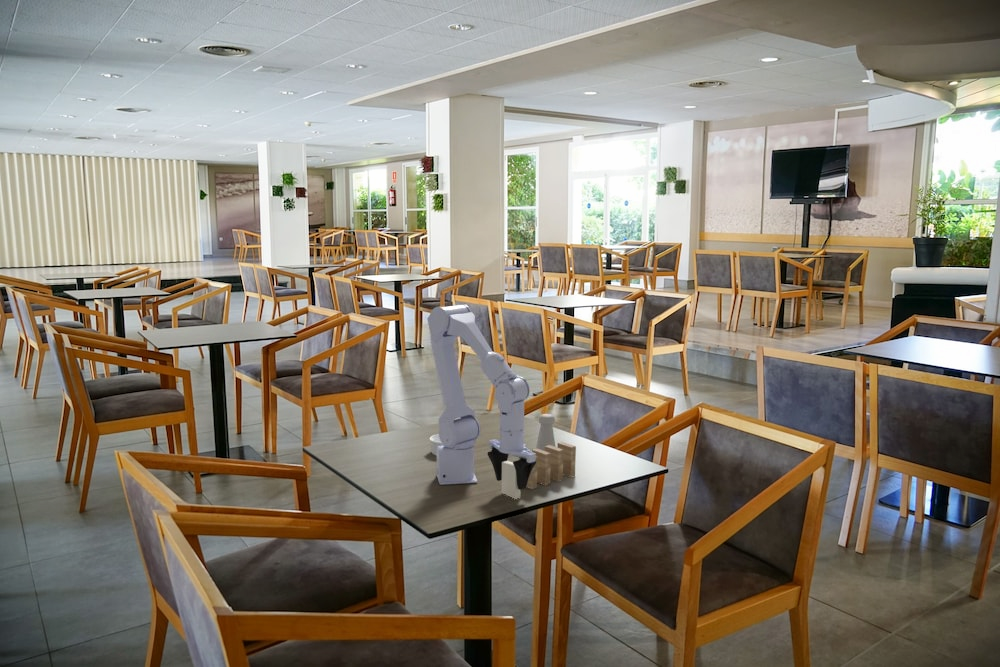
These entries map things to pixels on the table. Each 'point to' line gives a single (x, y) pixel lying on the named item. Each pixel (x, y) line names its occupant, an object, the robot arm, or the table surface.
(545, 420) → the salt shaker
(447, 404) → the robot arm
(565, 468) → the domino
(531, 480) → the domino
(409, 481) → the table surface
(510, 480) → the front domino
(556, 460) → the domino
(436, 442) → the ramekin
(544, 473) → the domino
